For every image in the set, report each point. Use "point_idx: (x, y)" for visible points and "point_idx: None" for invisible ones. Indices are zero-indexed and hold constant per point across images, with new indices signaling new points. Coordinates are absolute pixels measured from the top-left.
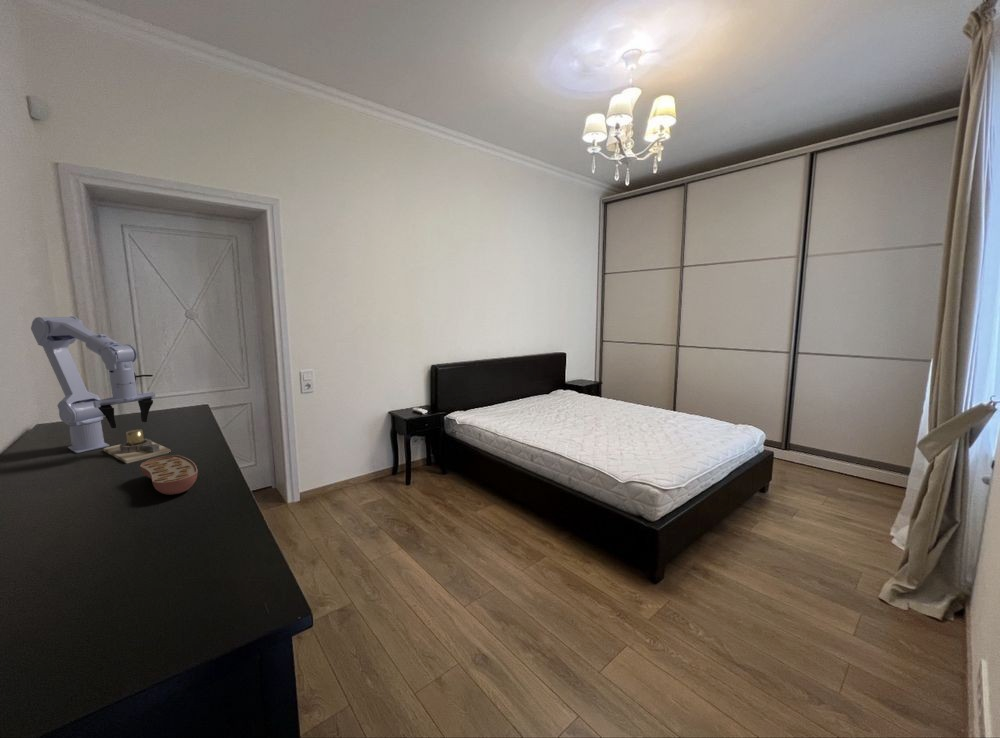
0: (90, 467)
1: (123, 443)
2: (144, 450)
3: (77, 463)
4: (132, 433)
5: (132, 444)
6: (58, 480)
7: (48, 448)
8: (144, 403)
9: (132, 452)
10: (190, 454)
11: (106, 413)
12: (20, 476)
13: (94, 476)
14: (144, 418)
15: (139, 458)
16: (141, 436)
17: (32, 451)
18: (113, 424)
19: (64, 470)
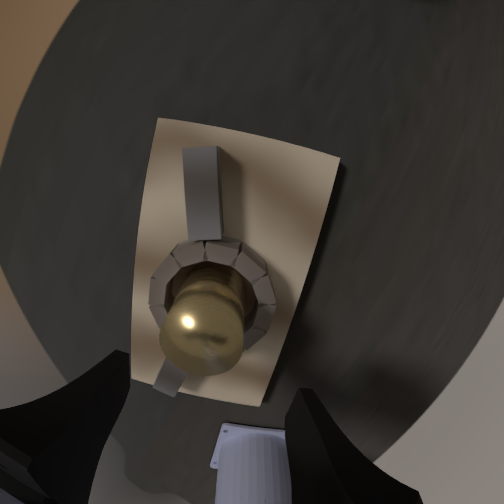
0: (397, 259)
1: None
2: (222, 214)
3: (372, 346)
4: (228, 316)
5: (238, 287)
6: (481, 223)
7: None
8: (36, 456)
9: (255, 253)
10: (157, 16)
11: (391, 477)
12: (456, 356)
13: (446, 140)
14: (115, 367)
15: (289, 143)
16: (188, 292)
17: None
18: (319, 405)
19: (425, 308)
